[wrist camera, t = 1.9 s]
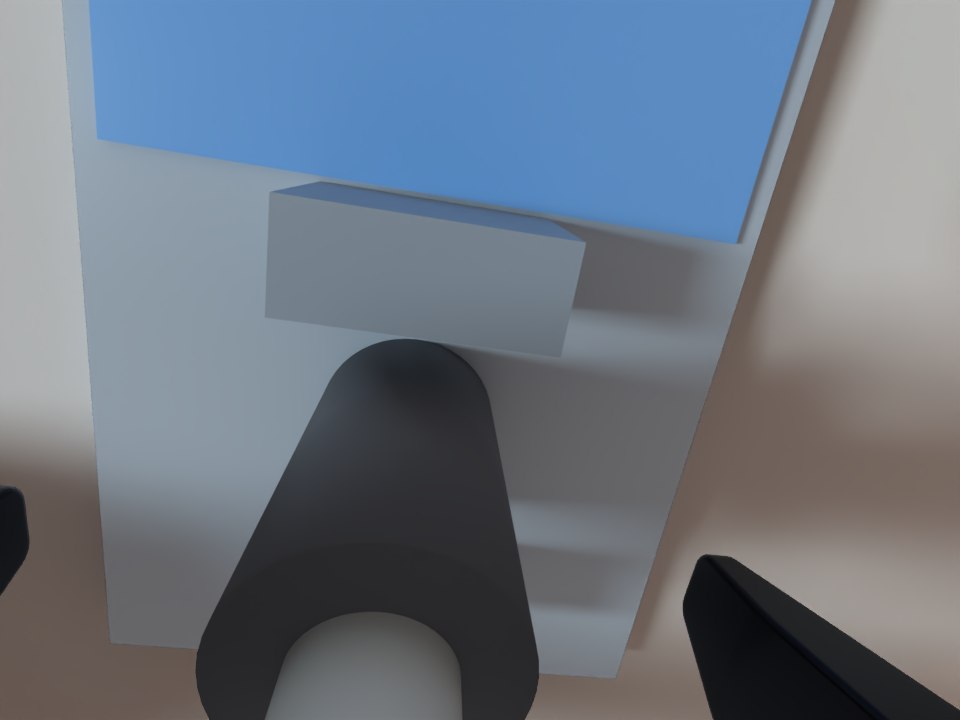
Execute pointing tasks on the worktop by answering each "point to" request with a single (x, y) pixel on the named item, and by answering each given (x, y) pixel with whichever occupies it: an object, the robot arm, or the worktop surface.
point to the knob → (381, 561)
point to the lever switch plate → (417, 260)
